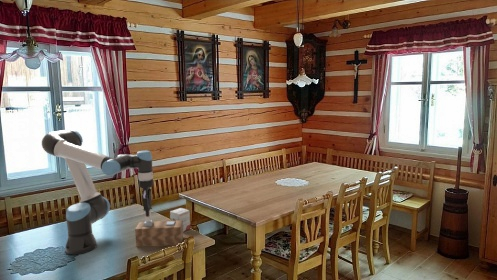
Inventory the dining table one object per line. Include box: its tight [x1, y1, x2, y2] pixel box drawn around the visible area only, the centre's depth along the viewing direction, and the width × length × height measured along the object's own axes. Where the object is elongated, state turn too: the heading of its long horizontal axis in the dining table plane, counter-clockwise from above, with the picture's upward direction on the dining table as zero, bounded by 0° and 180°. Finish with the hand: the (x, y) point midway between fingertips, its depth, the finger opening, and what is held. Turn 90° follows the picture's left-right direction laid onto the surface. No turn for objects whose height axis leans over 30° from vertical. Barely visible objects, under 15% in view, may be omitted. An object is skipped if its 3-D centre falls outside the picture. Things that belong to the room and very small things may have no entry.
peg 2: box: [166, 221, 175, 226], centre depth 193 cm, size 4×4×10 cm
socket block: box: [134, 220, 184, 248], centre depth 193 cm, size 24×10×10 cm, turn 94°
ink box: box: [169, 207, 191, 232], centre depth 210 cm, size 9×9×12 cm
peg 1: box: [143, 219, 154, 227], centre depth 192 cm, size 4×4×10 cm
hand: (148, 221), depth 192 cm, fingers closed
